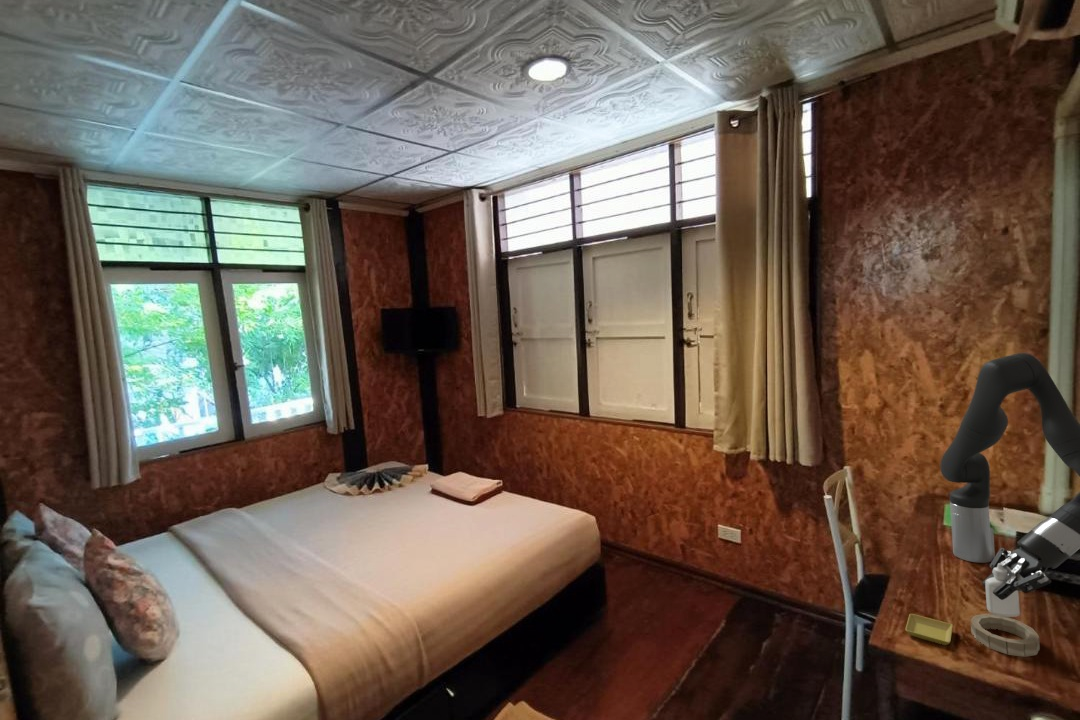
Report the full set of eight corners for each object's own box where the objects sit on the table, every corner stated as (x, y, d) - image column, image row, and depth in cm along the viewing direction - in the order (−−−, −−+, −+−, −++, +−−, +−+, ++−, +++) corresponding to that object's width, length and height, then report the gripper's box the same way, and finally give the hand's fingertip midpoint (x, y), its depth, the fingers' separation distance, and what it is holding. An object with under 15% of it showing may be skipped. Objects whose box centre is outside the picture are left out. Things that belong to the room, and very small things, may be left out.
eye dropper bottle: (1019, 621, 111) (1015, 571, 110) (986, 613, 115) (982, 564, 114) (1020, 613, 114) (1017, 563, 113) (988, 605, 118) (984, 557, 117)
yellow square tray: (950, 651, 114) (950, 642, 114) (905, 637, 120) (904, 629, 120) (953, 632, 120) (953, 624, 120) (910, 620, 126) (909, 612, 126)
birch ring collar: (1000, 622, 121) (1000, 610, 121) (1053, 651, 110) (1052, 638, 109) (959, 629, 120) (958, 618, 120) (1008, 660, 109) (1007, 647, 108)
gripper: (1014, 519, 118) (959, 566, 122) (1060, 544, 105) (997, 597, 108) (1042, 540, 117) (986, 587, 121) (1092, 568, 104) (1027, 620, 107)
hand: (991, 591), depth 115 cm, fingers closed on eye dropper bottle, 3 cm apart
